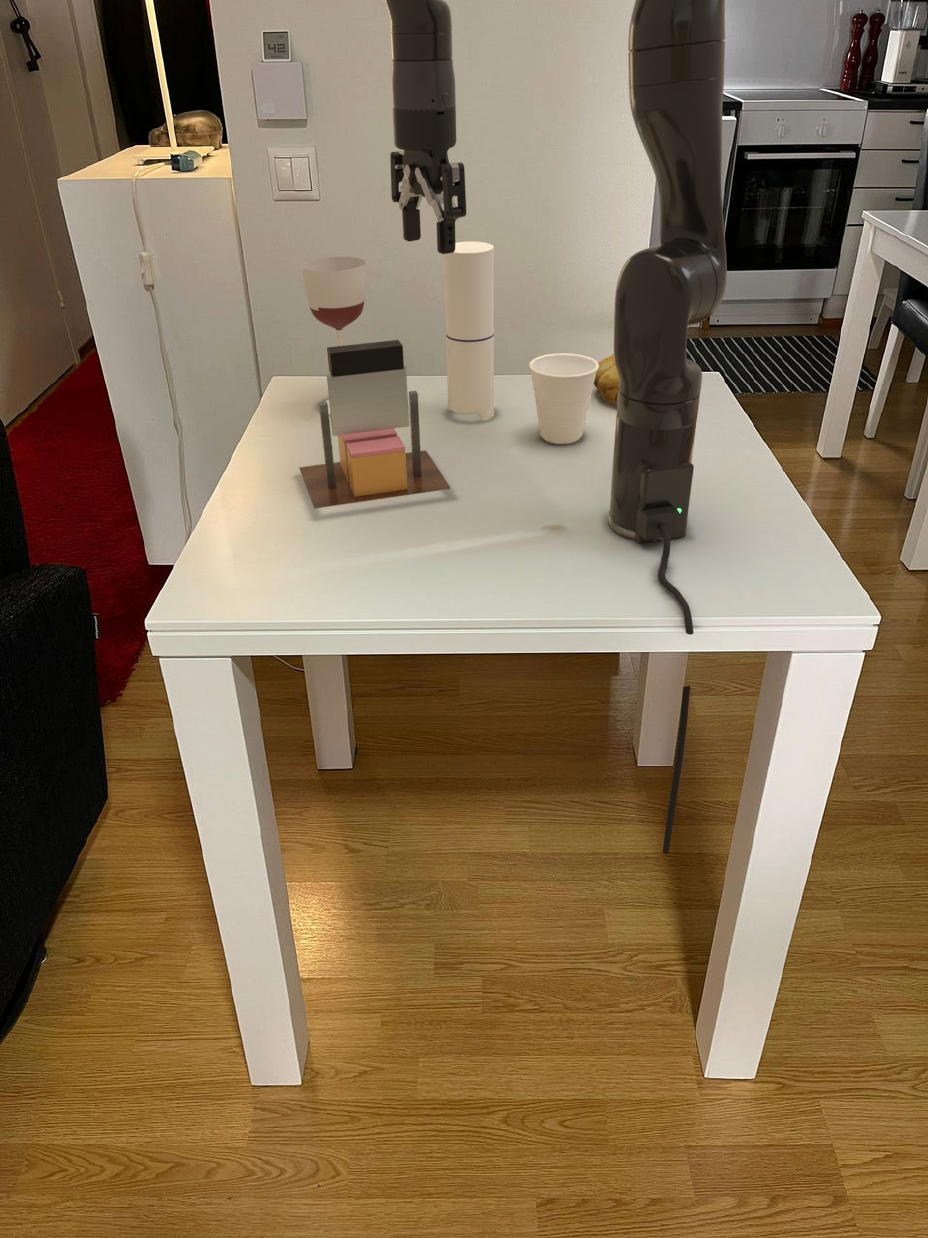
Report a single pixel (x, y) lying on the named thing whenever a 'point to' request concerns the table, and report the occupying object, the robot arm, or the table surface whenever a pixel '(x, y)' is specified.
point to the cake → (373, 461)
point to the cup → (562, 394)
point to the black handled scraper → (367, 387)
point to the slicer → (334, 488)
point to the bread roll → (607, 380)
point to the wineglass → (335, 291)
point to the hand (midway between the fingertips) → (429, 246)
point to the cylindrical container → (470, 328)
